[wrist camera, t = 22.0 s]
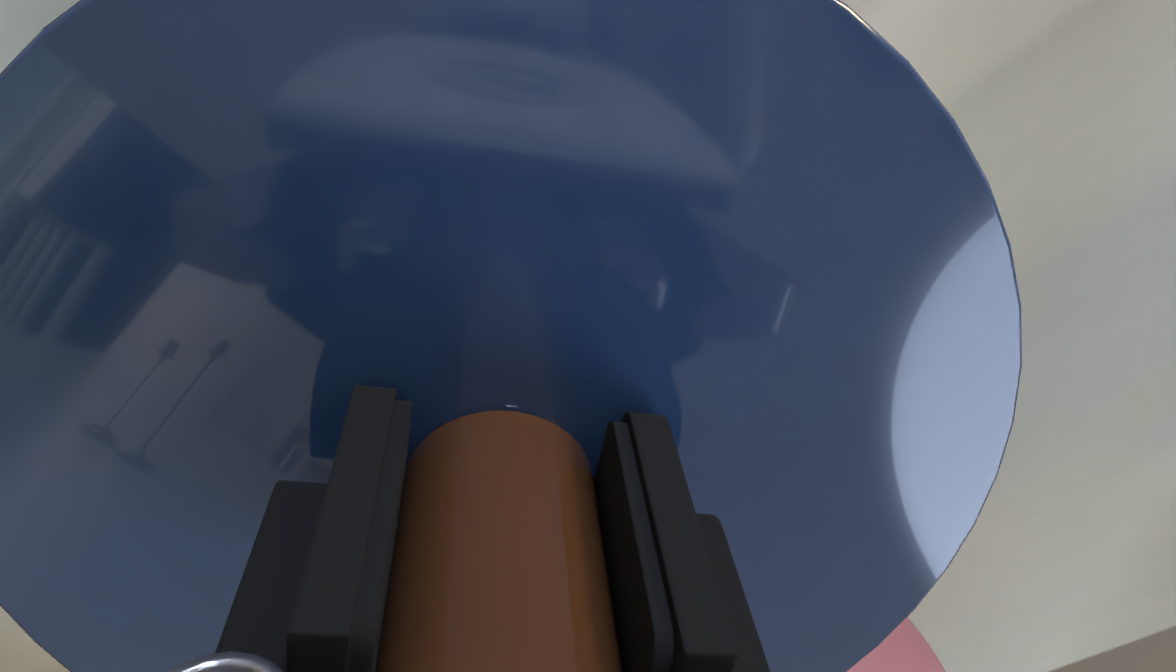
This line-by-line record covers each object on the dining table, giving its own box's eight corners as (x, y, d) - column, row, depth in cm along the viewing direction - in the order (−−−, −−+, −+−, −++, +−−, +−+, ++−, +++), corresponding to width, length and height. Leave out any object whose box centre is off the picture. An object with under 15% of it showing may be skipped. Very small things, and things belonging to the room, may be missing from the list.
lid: (1016, 598, 15) (1289, 991, 10) (302, 817, 17) (210, 1268, 11) (904, -361, 8) (1672, -763, 3) (-342, 162, 10) (-1421, 560, 4)
